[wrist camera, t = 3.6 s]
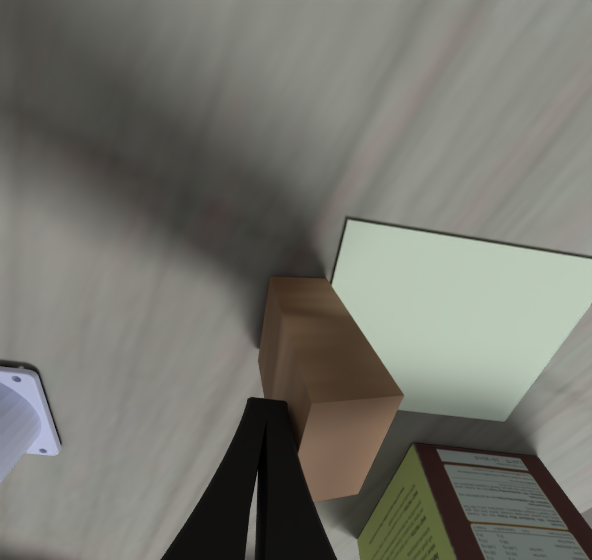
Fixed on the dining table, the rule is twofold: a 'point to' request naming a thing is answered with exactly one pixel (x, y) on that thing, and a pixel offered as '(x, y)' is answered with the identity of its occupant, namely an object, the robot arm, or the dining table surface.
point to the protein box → (474, 510)
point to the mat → (459, 314)
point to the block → (325, 384)
